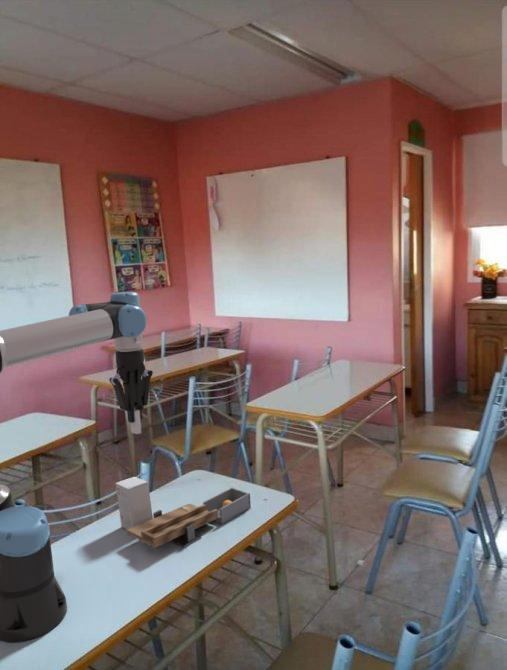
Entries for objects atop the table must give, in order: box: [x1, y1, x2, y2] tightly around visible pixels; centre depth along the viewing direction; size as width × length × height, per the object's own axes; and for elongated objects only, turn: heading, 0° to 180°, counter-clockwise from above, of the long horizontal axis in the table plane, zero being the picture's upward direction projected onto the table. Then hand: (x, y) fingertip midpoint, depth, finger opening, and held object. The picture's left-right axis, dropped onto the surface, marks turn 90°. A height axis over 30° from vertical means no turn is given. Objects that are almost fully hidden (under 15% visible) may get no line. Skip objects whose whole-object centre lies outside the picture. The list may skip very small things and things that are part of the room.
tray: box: [202, 487, 252, 525], centre depth 162 cm, size 12×7×4 cm, turn 138°
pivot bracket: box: [152, 509, 202, 548], centre depth 151 cm, size 6×15×4 cm, turn 48°
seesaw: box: [126, 503, 218, 548], centre depth 151 cm, size 22×12×2 cm, turn 138°
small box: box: [115, 476, 154, 530], centre depth 155 cm, size 8×6×13 cm
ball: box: [222, 500, 231, 507], centre depth 162 cm, size 3×3×3 cm
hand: (136, 432), depth 153 cm, fingers closed
